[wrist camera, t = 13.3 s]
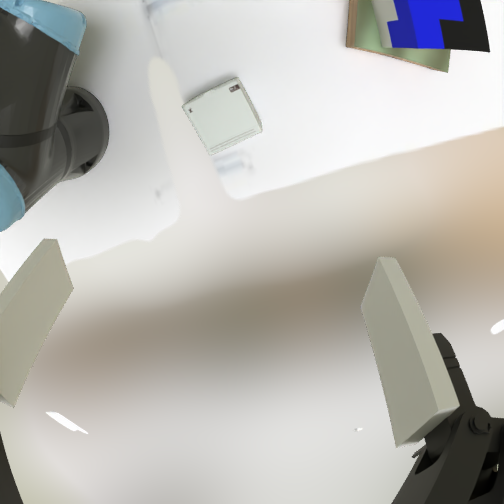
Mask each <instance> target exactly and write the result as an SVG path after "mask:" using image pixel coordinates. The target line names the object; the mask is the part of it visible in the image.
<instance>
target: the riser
mask: <svg viewBox="0 0 504 504" xmlns="http://www.w3.org/2000/svg"><path fill="white" fill-rule="evenodd" d="M346 47H349V48H354V49H359V50H363V51H368V52H372V53H377V54H381V55H385V56H389V57H393V58H396V59H400V60H404V61H407V62H410V63H414V64H417V65H420V66H423V67H427V68H430V69H433V70H437V71H442V72H447V73H448V67H449V59H450V51H451V49H414V48H382V44H381V39H380V34H379V30H378V26H377V22H376V18H375V14H374V10H373V6H372V2H371V0H350V1H349V15H348V28H347V40H346Z"/></svg>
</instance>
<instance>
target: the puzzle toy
mask: <svg viewBox="0 0 504 504" xmlns="http://www.w3.org/2000/svg"><path fill="white" fill-rule="evenodd" d="M371 2H372V6H373V10H374V14H375V18H376V22H377V26H378V30H379V34H380V39H381V44H382V48H414V49H455V50H471V51H483V52H490V48H489V41H488V35H487V30H486V24H485V19H484V14H483V10H482V5H481V1H480V0H371Z"/></svg>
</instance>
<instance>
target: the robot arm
mask: <svg viewBox="0 0 504 504" xmlns="http://www.w3.org/2000/svg"><path fill="white" fill-rule="evenodd" d="M86 26H87V21H86V18H85V16H84V15H83V14H82V13H81V12H79V11H77V10H74V9H71V8H68V7H65V6H61V5H58V4H54V3H50V2H46V1H42V0H0V232H1V231H3V230H6V229H7V228H9V227H10V226H11V225H12V224H13V223H14V222H16V221H17V220H20V219H21V218H22V217H23V216H24V214H25V213H26V212H27V211H28V210H29V209H30V208H31V207H32V206H33V205H34V204H35V203H36V202H37V201H38V200H39V199H41V198H42V197H43V196H44V195H45V194H46V193H47V192H48V191H49V190H51V189H52V188H53V187H54V186H55V185H56V184H57V183H59V182H61V181H66V180H70V179H75V178H78V177H80V176H83V175H84V174H86V173H87V172H89V171H90V170H91V169H92V168H93V167H95V166H96V165H97V164H98V163H99V161H100V160H101V159H102V157H103V155H104V153H105V151H106V148H107V144H108V139H109V126H108V120H107V117H106V114H105V111H104V109H103V107H102V106H101V104H100V102H99V101H98V100H97V99H96V98H95V97H94V96H93V95H92V94H91V93H89V92H88V91H86V90H84V89H81V88H78V87H67V85H68V82H69V78H70V75H71V72H72V69H73V66H74V63H75V60H76V57H77V56H79V53H80V51H79V47H80V44H81V41H82V38H83V35H84V32H85V29H86ZM73 289H74V288H73V285H72V282H71V280H70V277H69V274H68V271H67V268H66V265H65V263H64V260H63V257H62V254H61V251H60V247H59V244H58V241H57V239H43V240H42V242H41V243H40V244H39V245H38V246H37V247H36V249H35V250H34V251H33V252H32V253H31V255H30V256H29V257H28V258H27V260H26V261H25V262H24V263H23V265H22V266H21V267H20V268H19V270H18V271H17V272H16V274H15V275H14V276H13V278H12V279H11V280H10V282H9V283H8V285H7V286H6V287H5V289H4V290H3V291H2V293H1V294H0V402H2V403H4V404H7V405H9V406H11V407H13V408H14V407H15V404H16V402H17V399H18V397H19V395H20V392H21V390H22V388H23V385H24V383H25V381H26V379H27V376H28V374H29V372H30V369H31V368H32V366H33V363H34V361H35V359H36V357H37V355H38V353H39V351H40V349H41V347H42V345H43V343H44V341H45V339H46V337H47V335H48V334H49V331H50V330H51V328H52V326H53V324H54V322H55V320H56V319H57V317H58V315H59V313H60V311H61V310H62V308H63V306H64V304H65V303H66V301H67V299H68V297H69V296H70V294H71V292H72V291H73ZM361 311H362V315H363V318H364V321H365V325H366V328H367V331H368V335H369V338H370V342H371V345H372V349H373V352H374V356H375V360H376V363H377V367H378V371H379V375H380V379H381V383H382V387H383V391H384V395H385V399H386V403H387V408H388V412H389V416H390V421H391V425H392V430H393V435H394V439H395V444H396V448H400V447H405V446H410V445H415V444H417V443H418V442H419V441H420V440H422V439H423V438H425V442H426V445H424V446H423V447H422V448H421V449H419V450H418V451H416V452H415V454H414V455H413V456H412V457H413V458H415V457H416V456H418V455H419V457H418V458H417V460H416V462H415V464H414V466H413V468H412V470H411V471H410V473H409V475H408V477H407V479H406V480H405V482H404V484H403V486H402V487H401V489H400V491H399V492H398V494H397V496H396V497H395V499H394V500H393V502H392V504H504V419H503V418H492V417H490V415H489V413H488V412H487V411H486V410H484V409H483V408H480V407H477V406H476V405H475V403H474V401H473V398H472V396H471V393H470V390H469V387H468V385H467V382H466V380H465V377H464V375H463V372H462V370H461V368H460V365H459V362H458V360H457V358H455V353H454V351H453V349H452V346H451V344H450V343H449V342H448V340H447V339H446V338H445V337H444V336H443V335H442V334H441V333H435V334H432V333H431V330H430V328H429V326H428V323H427V321H426V319H425V317H424V315H423V313H422V310H421V308H420V306H419V304H418V302H417V300H416V298H415V296H414V293H413V292H412V289H411V287H410V285H409V283H408V281H407V279H406V277H405V276H404V274H403V272H402V270H401V268H400V266H399V264H398V262H397V260H396V258H393V257H392V258H391V257H378V259H377V262H376V265H375V268H374V271H373V274H372V276H371V279H370V282H369V285H368V288H367V290H366V293H365V296H364V298H363V301H362V304H361ZM497 464H499V465H498V471H497ZM0 504H23V502H22V499H21V497H20V494H19V491H18V489H17V486H16V483H15V481H14V478H13V475H12V472H11V469H10V465H9V462H8V459H7V456H6V452H5V449H4V445H3V441H2V437H1V434H0Z"/></svg>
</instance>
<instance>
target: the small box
mask: <svg viewBox="0 0 504 504" xmlns="http://www.w3.org/2000/svg"><path fill="white" fill-rule="evenodd" d="M182 108H183V110H184V111H185V113H186V115H187V116H188V118H189V120H190V122H191V123H192V125H193V127H194V128H195V130H196V132H197V134H198V136H199V137H200V139H201V141H202V143H203V144H204V146H205V148H206V150H207V151H208V153H209V155H213V154H215V153H218V152H220V151H222V150H224V149H226V148H228V147H230V146H232V145H235V144H237V143H239V142H241V141H243V140H245V139H248V138H250V137H252V136H254V135H256V134H259V133H261V132H262V123H261V121H260V119H259V117H258V114H257V112H256V110H255V108H254V106H253V104H252V102H251V100H250V98H249V96H248V95H247V93H246V91H245V89H244V87H243V85H242V83H241V81H240V80H239V78H235V79H232V80H230V81H228V82H225V83H223V84H221V85H219V86H217V87H215V88H213V89H211V90H209V91H207V92H205V93H203V94H201V95H199V96H197V97H195V98H194V99H192V100H190V101H189V102H187V103H186V104H184V105H183V106H182Z"/></svg>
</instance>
